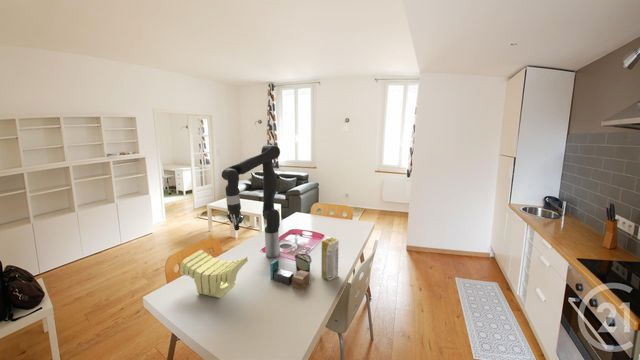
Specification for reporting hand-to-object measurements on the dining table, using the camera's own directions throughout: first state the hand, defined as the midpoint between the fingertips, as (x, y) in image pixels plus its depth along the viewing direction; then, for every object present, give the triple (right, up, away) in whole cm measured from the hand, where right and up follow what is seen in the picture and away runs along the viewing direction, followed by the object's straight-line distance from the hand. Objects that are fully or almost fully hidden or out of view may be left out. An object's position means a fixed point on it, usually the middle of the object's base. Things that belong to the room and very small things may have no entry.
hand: (237, 230), depth 163 cm
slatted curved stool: (-6, -29, -16) cm, 34 cm away
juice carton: (+56, -27, -3) cm, 62 cm away
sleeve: (+29, -28, -8) cm, 41 cm away
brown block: (+39, -29, -13) cm, 50 cm away
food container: (+41, -26, +3) cm, 48 cm away
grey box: (+31, -28, -9) cm, 43 cm away
